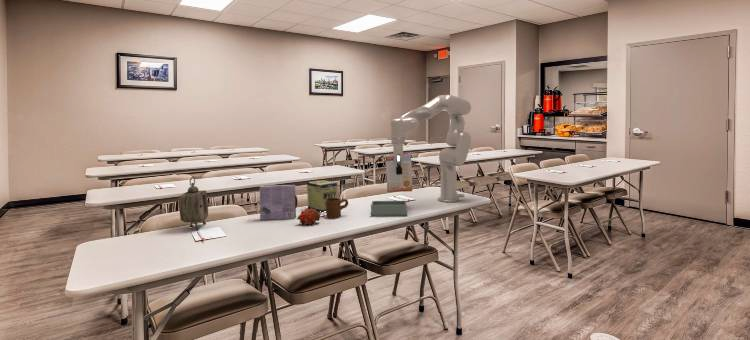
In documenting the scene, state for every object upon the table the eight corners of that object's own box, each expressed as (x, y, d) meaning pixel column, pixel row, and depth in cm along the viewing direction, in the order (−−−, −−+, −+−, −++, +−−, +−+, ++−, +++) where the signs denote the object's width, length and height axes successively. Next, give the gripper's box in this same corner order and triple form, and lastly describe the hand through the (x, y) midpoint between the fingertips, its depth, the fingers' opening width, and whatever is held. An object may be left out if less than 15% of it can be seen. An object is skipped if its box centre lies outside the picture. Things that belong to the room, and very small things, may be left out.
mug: (346, 213, 234) (346, 196, 233) (350, 216, 227) (350, 199, 226) (324, 216, 230) (324, 198, 229) (328, 219, 223) (327, 201, 222)
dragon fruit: (323, 225, 217) (299, 232, 213) (318, 213, 222) (295, 219, 218) (323, 215, 211) (299, 221, 207) (317, 202, 216) (294, 208, 212)
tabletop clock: (200, 231, 205) (196, 179, 202) (180, 232, 205) (176, 179, 201) (209, 223, 220) (205, 174, 216) (190, 224, 219) (186, 175, 215)
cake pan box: (298, 216, 231) (296, 183, 228) (298, 218, 226) (296, 185, 223) (261, 218, 227) (259, 185, 225) (260, 221, 223) (258, 187, 220)
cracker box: (412, 189, 246) (411, 152, 243) (412, 191, 240) (411, 154, 237) (387, 190, 247) (386, 153, 244) (387, 192, 241) (385, 155, 238)
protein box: (323, 213, 237) (322, 185, 235) (307, 208, 249) (306, 181, 246) (338, 210, 244) (337, 182, 242) (322, 205, 255) (321, 179, 253)
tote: (406, 211, 237) (406, 200, 236) (406, 216, 226) (406, 205, 225) (372, 211, 238) (372, 200, 237) (371, 216, 227) (370, 205, 226)
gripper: (391, 140, 248) (392, 171, 251) (390, 142, 231) (392, 176, 234) (404, 139, 248) (405, 170, 250) (405, 142, 230) (406, 175, 233)
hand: (399, 173), depth 242 cm, fingers closed on cracker box, 6 cm apart
